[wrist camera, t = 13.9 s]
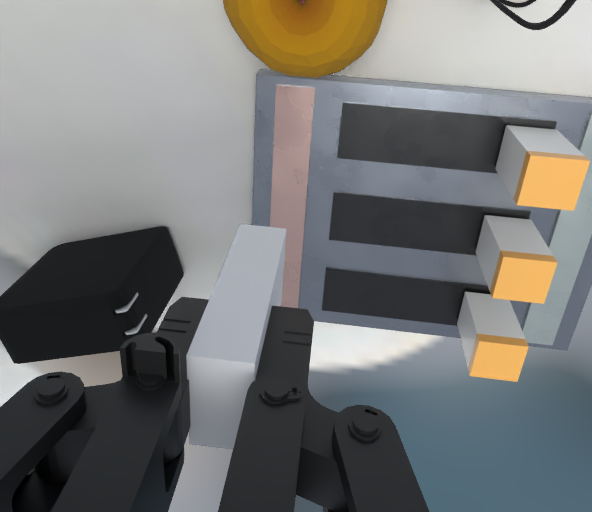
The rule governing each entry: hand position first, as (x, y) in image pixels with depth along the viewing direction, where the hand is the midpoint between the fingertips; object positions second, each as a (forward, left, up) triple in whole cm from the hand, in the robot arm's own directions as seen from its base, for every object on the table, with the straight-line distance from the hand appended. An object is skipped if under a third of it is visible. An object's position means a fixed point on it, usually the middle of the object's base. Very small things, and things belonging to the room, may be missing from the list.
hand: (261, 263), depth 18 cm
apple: (-1, +7, -22) cm, 23 cm away
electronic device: (-14, -13, -22) cm, 29 cm away
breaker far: (+13, -13, -19) cm, 27 cm away
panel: (+8, -7, -21) cm, 24 cm away
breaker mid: (+13, -7, -19) cm, 24 cm away
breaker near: (+13, -1, -19) cm, 23 cm away
